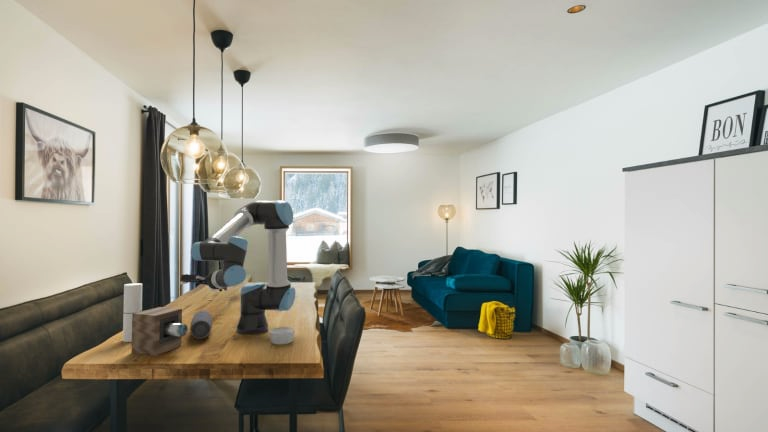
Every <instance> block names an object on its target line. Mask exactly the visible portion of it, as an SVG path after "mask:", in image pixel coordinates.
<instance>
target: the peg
mask: <svg viewBox="0 0 768 432" xmlns="http://www.w3.org/2000/svg"><path fill="white" fill-rule="evenodd" d="M187 332H188V325H187V324H186V323H182V324H178V323H164V335H171V336H180V337H184V336H186V335H187Z"/></svg>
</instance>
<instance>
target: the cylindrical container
mask: <svg viewBox="0 0 768 432" xmlns="http://www.w3.org/2000/svg"><path fill="white" fill-rule="evenodd" d="M122 311H123V312H122V313H123V315H122V316H123V317H122V321H123V323H122V324H123V325H122V342H125V343H128V342H131V343H132V314H133V313H137V312H141V311H143V283H141V282H140V283H139V282H137V283H135V282H134V283H124V285H123V310H122Z"/></svg>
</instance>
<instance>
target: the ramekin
mask: <svg viewBox="0 0 768 432" xmlns="http://www.w3.org/2000/svg"><path fill="white" fill-rule="evenodd" d="M295 332H296V331H295V329H294V328H293V327H285V326H284V327H283V326H281V327H275V328H272V329H270V330H269V331H268V334H269V338H270V339H269V340H270V342H271V343H272V344H273V345H288V344H290V343H292V342H293V340H294V335H295Z"/></svg>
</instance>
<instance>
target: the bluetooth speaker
mask: <svg viewBox="0 0 768 432" xmlns="http://www.w3.org/2000/svg"><path fill="white" fill-rule="evenodd" d="M212 328H213V318H212V315H211V313H210V312H209V311H207V310H199V311H197V312H196V313H195V314H194V315H193V317H192V319H191V322H190V329H189V330H190V333H191V336H192V337H194V338H195V339H197V340H198V339H204V338H206V337H208V335H209V334H210V333H211V330H212Z"/></svg>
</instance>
